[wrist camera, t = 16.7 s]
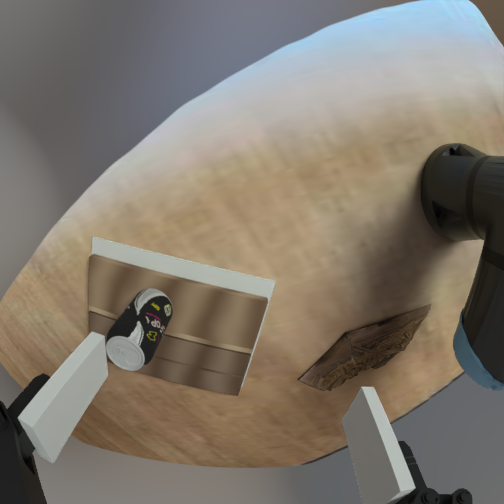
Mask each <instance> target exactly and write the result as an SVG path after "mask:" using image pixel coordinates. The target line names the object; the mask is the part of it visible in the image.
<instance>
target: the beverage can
mask: <svg viewBox="0 0 504 504" xmlns="http://www.w3.org/2000/svg"><path fill="white" fill-rule="evenodd" d="M172 315H173V306H172V303H171V301H170V299H169V298H168V296H166V295H165V294H164V293H163V292H161V291H159V290H157V289H153V288H148V289H144V290H142V291H140V292H139V293H138V294H137V295H136V296H135V298H134V299H133V300H132V301H131V303H130V304H129V305H128V306H127V308H126V309H125V310H124V312H123V313H122V314H121V315H120V317H119V318H118V319H117V321H116V322H115V323H114V324H113V326H112V327H111V328H110V330H109V332H108V334H107V344H106V352H107V354H108V357H109V358H110V360H111V361H112V362H113V363H114V364H115V365H117V366H118V367H120V368H122V369H124V370H128V371H135V370H138V369H140V368H141V367H142V366H145V365H147V364H148V363H149V362H150V361H151V360H152V358H153V356H154V354H155V352H156V349H157V347H158V345H159V343H160V341H161V339H162V336H163V334H164V332H165V330H166V328H167V326H168V324H169V322H170V320H171V317H172Z"/></svg>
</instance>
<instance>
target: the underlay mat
mask: <svg viewBox="0 0 504 504" xmlns="http://www.w3.org/2000/svg"><path fill="white" fill-rule="evenodd" d="M93 254H96V255H100V256H103V257H107V258H110V259H114V260H117V261H121V262H125V263H128V264H132V265H136V266H139V267H143V268H147V269H151V270H154V271H158V272H162V273H166V274H170V275H174V276H178V277H182V278H186V279H190V280H194V281H198V282H202V283H206V284H210V285H214V286H219V287H223V288H227V289H232V290H236V291H240V292H245V293H249V294H254V295H258V296H263V297H267V298H268V304H267V307H266V310H265V313H264V317H263V320H262V323H261V326H260V329H259V333H258V336H257V339H256V342H255V345H254V348H253V352H252V354H251V358H250V361H249V364H248V367H247V370H246V373H245V376H244V379H243V382H242V385H241V387H242V386H243V383H244V380H245V377H246V374H247V371H248V368H249V365H250V362H251V359H252V356H253V353H254V350H255V347H256V344H257V340H258V337H259V334H260V331H261V328H262V325H263V321H264V318H265V315H266V312H267V309H268V305H269V302H270V299H271V296H272V292H273V289H274V286H275V282H276V281H274V280H270V279H265V278H261V277H257V276H252V275H248V274H244V273H239V272H235V271H231V270H227V269H222V268H218V267H214V266H210V265H206V264H201V263H197V262H193V261H189V260H185V259H181V258H177V257H173V256H169V255H165V254H161V253H157V252H153V251H149V250H145V249H141V248H137V247H133V246H129V245H126V244H122V243H118V242H114V241H110V240H106V239H103V238H99V237H95V236H93V240H92V255H93Z"/></svg>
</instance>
